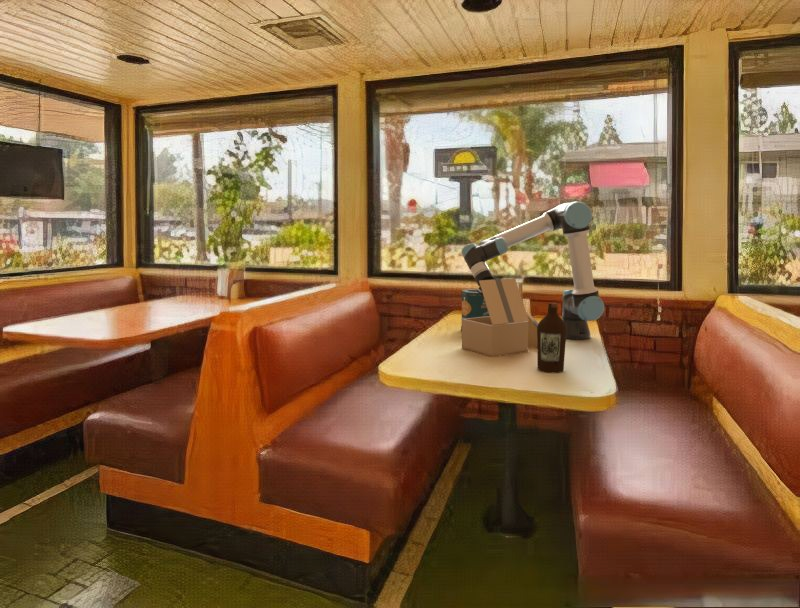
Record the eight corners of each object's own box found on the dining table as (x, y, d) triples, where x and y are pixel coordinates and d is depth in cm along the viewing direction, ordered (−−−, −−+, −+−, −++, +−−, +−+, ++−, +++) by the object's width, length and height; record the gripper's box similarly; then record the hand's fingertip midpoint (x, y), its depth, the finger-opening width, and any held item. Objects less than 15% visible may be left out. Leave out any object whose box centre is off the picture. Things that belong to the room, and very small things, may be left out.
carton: (461, 348, 244) (462, 319, 242) (496, 343, 254) (497, 315, 253) (491, 357, 227) (492, 325, 225) (527, 351, 237) (528, 321, 236)
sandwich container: (560, 349, 243) (561, 315, 241) (524, 347, 247) (525, 313, 245) (560, 345, 251) (561, 312, 249) (525, 343, 255) (526, 311, 253)
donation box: (499, 333, 279) (500, 278, 275) (469, 335, 274) (470, 278, 271) (485, 328, 294) (487, 275, 290) (457, 329, 290) (458, 276, 286)
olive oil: (537, 365, 213) (539, 300, 210) (566, 367, 209) (569, 302, 206) (533, 371, 203) (536, 304, 200) (563, 374, 200) (566, 305, 196)
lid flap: (478, 280, 231) (479, 280, 230) (514, 278, 241) (515, 278, 240) (492, 325, 225) (493, 324, 225) (528, 320, 235) (529, 320, 235)
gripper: (489, 278, 249) (513, 322, 238) (466, 280, 242) (489, 325, 231) (498, 268, 243) (522, 312, 233) (474, 270, 237) (498, 315, 226)
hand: (506, 319), depth 232 cm, fingers closed
